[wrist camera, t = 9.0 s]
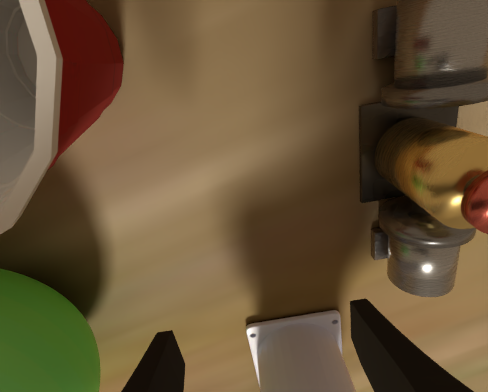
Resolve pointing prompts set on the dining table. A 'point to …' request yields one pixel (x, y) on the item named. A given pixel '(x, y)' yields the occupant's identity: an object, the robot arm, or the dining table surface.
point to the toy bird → (43, 340)
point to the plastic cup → (48, 89)
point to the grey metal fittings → (424, 106)
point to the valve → (438, 170)
